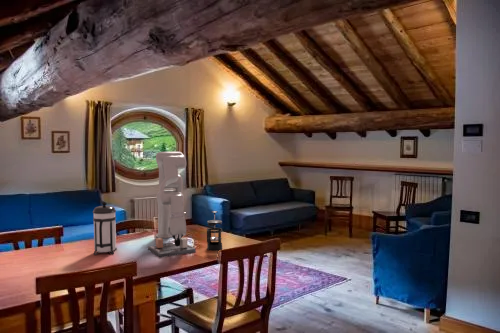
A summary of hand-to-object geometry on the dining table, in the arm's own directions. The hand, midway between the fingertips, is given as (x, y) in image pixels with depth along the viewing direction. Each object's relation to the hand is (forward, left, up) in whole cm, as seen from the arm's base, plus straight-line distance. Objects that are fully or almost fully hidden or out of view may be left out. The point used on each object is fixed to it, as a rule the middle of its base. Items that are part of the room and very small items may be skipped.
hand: (177, 245), depth 252 cm
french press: (+5, +22, -4) cm, 23 cm away
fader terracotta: (-8, -8, -1) cm, 11 cm away
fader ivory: (0, +4, -1) cm, 4 cm away
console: (-4, -2, -4) cm, 6 cm away
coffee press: (-21, -36, -4) cm, 42 cm away
